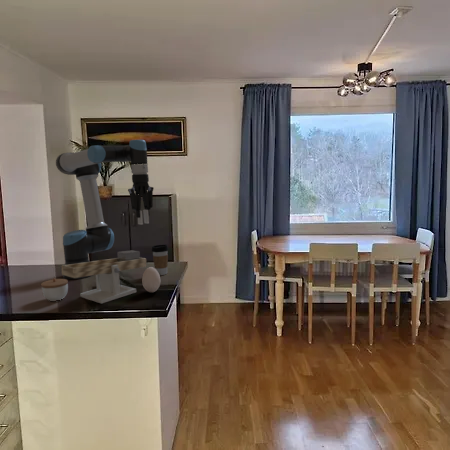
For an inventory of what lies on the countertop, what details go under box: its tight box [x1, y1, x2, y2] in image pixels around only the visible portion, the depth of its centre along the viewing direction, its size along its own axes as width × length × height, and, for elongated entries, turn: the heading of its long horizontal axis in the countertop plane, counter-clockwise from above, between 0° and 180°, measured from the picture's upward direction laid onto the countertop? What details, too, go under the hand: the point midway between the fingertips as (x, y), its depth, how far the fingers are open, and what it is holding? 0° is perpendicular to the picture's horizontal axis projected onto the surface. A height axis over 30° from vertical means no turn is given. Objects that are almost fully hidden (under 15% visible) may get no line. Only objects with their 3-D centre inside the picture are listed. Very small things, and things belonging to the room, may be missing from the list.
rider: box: [117, 249, 141, 262], centre depth 189 cm, size 8×6×5 cm
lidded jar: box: [40, 277, 69, 302], centre depth 178 cm, size 11×11×9 cm
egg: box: [141, 266, 162, 293], centre depth 182 cm, size 8×8×11 cm
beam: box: [61, 256, 147, 278], centre depth 180 cm, size 36×10×4 cm, turn 140°
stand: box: [80, 265, 137, 304], centre depth 181 cm, size 18×16×14 cm
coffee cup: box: [151, 244, 169, 276], centre depth 212 cm, size 8×8×15 cm
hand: (143, 223), depth 195 cm, fingers open, 3 cm apart
